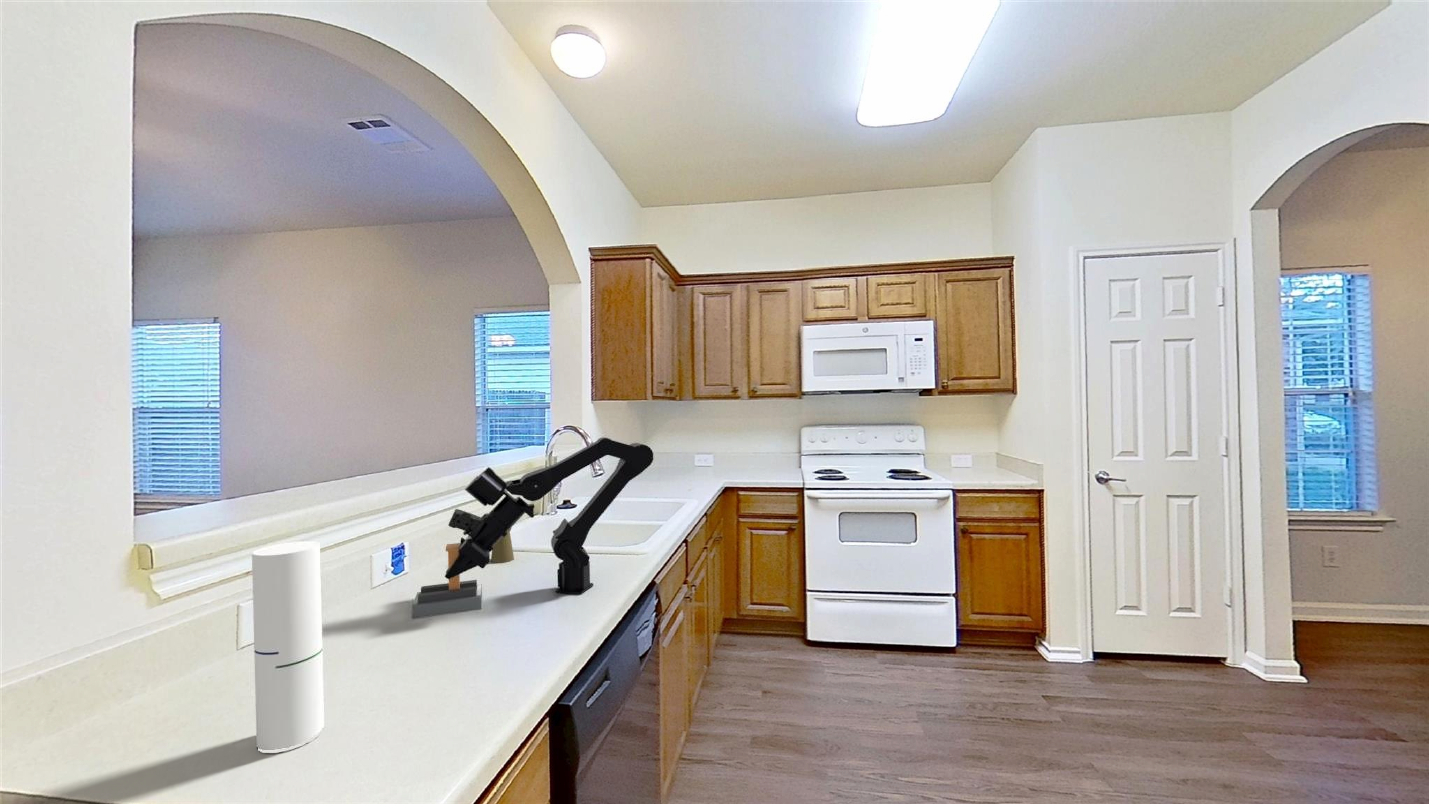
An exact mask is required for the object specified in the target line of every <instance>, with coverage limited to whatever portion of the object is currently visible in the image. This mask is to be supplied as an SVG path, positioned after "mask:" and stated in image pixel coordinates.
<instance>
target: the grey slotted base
mask: <svg viewBox="0 0 1429 804" xmlns="http://www.w3.org/2000/svg"><path fill="white" fill-rule="evenodd" d="M482 600H483V584H478V581H477V579H472V580H462V581H460V589H453V590H449V582H447V583H437V584H431V585H429V584H428V585H424V586H421V588H420V591H418V592H417V593H416V594H415V597H414V600H413V602H412V605H411V618H412V619H419V618H425V617H426V618H427V617H433V616H440V615H448V614H454V613H455V614H456V613H461V612H468V611H469V610H470V611H477V610H481V609H482V603H483V601H482Z"/></svg>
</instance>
